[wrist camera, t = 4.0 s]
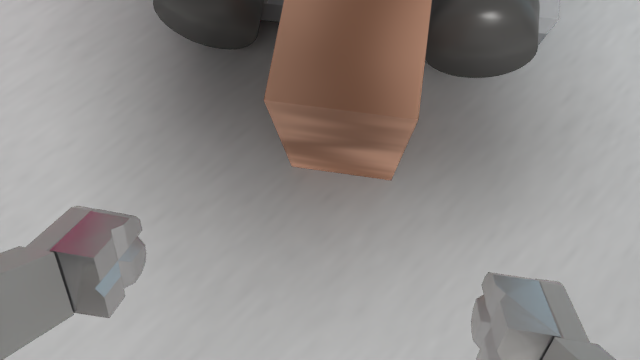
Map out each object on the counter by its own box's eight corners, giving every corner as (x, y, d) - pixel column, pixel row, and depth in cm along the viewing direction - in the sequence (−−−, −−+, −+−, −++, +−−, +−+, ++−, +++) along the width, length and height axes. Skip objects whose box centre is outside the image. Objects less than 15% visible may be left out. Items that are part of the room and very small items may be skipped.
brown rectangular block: (291, 166, 22) (263, 100, 14) (308, 76, 23) (290, -31, 15) (391, 180, 21) (418, 119, 14) (402, 87, 23) (433, -16, 15)
